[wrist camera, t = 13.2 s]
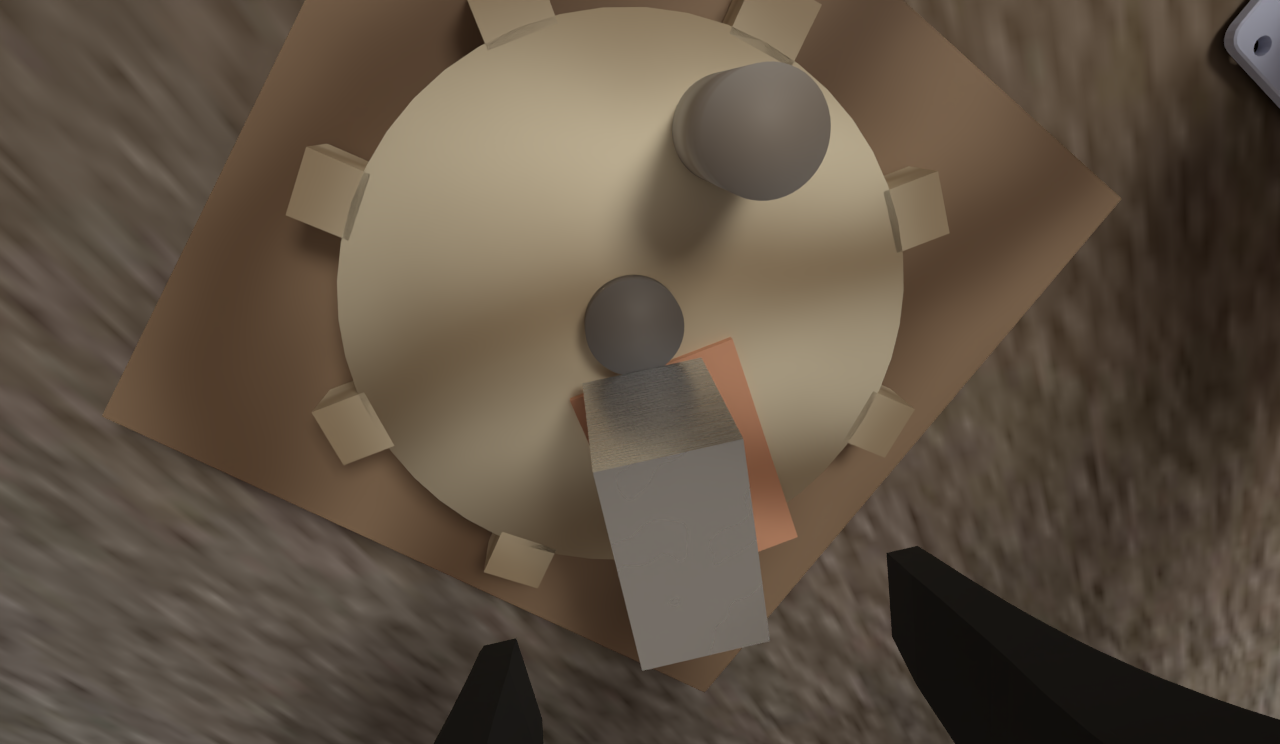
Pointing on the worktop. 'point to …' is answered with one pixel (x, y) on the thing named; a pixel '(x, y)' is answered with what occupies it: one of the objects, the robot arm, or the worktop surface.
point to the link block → (677, 512)
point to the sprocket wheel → (613, 261)
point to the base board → (309, 257)
